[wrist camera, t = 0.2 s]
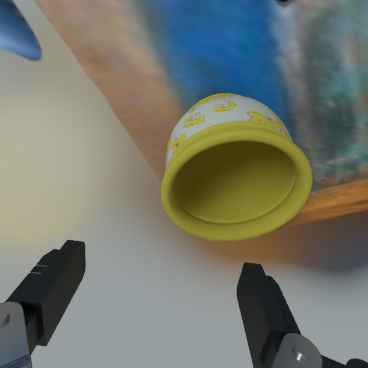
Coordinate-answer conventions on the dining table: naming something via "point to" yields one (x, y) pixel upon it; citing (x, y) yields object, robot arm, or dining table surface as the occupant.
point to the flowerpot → (233, 170)
